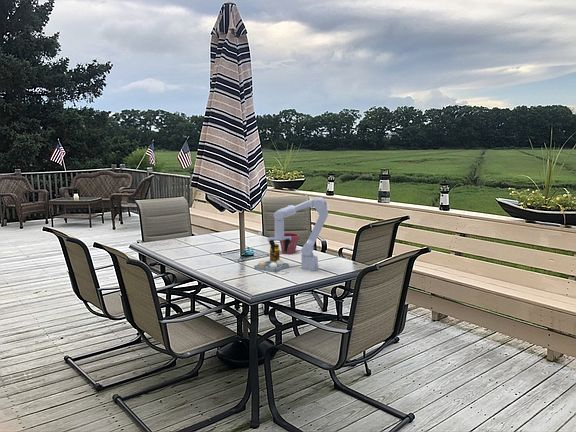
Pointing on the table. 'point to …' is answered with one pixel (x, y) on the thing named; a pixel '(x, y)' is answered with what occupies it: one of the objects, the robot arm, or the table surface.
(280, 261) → the white egg near
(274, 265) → the white egg left
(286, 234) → the plant pot
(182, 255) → the table surface
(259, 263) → the brown egg
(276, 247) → the condiment
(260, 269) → the egg tray
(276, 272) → the dish
